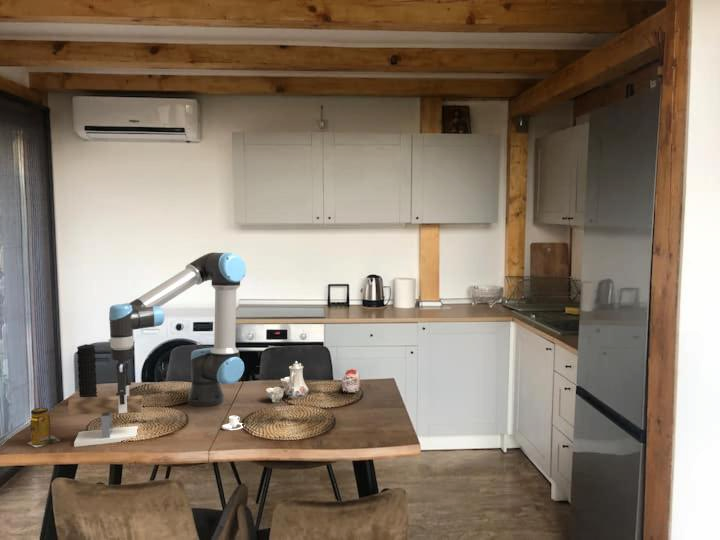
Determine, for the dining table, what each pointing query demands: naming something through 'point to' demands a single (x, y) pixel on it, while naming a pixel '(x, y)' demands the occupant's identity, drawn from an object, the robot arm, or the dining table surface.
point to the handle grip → (87, 371)
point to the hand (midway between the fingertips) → (124, 408)
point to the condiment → (40, 428)
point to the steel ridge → (106, 425)
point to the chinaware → (290, 385)
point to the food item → (351, 381)
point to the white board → (96, 438)
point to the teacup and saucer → (232, 423)
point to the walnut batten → (102, 405)
